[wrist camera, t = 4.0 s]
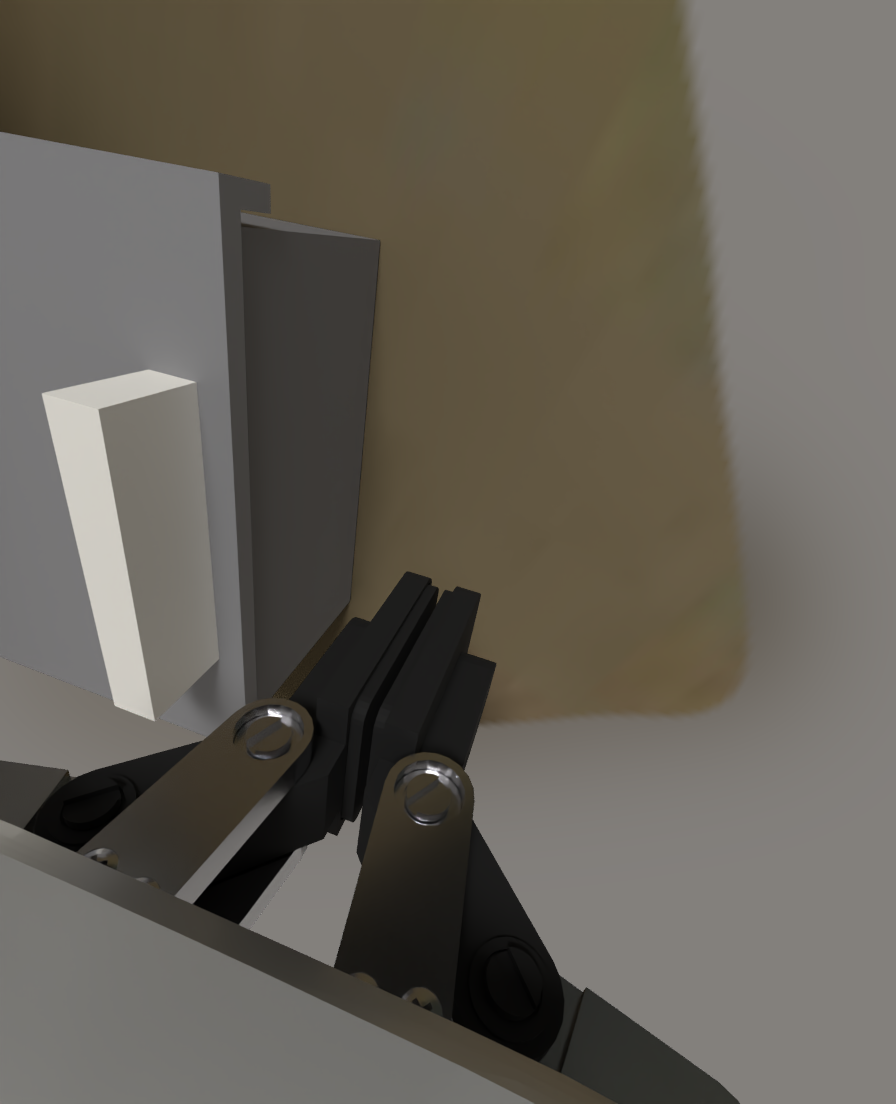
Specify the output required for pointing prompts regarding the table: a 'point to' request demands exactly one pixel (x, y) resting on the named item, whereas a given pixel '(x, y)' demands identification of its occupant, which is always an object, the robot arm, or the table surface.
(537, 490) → the table surface
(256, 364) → the base
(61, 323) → the lid
